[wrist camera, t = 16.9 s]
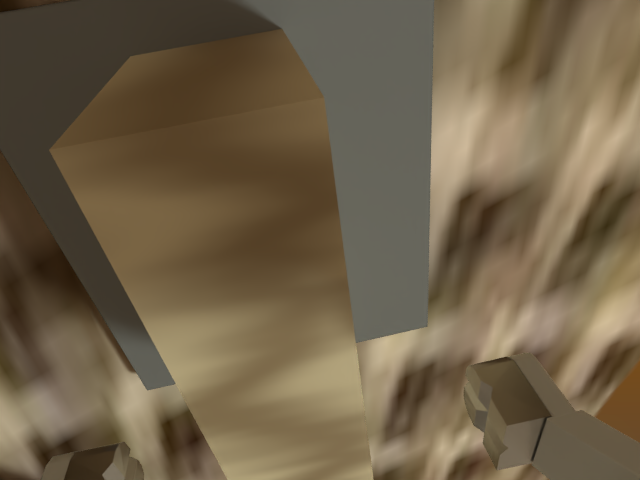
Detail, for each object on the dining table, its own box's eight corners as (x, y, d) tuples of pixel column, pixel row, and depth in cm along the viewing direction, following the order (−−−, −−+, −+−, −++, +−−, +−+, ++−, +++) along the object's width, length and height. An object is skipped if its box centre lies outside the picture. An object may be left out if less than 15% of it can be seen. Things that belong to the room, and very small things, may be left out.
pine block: (249, 520, 15) (49, 149, 7) (244, 362, 21) (130, 56, 13) (374, 488, 15) (324, 97, 7) (335, 341, 21) (282, 28, 13)
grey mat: (149, 376, 21) (147, 390, 21) (-59, 22, 12) (-76, 26, 11) (421, 315, 22) (427, 326, 22) (424, -60, 13) (435, -60, 12)
